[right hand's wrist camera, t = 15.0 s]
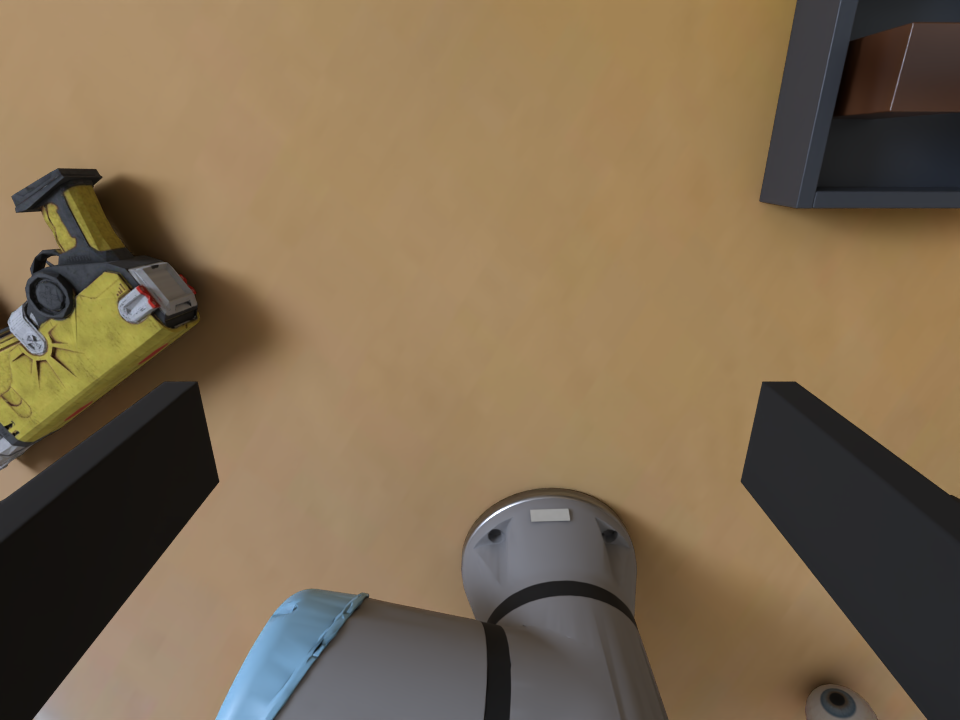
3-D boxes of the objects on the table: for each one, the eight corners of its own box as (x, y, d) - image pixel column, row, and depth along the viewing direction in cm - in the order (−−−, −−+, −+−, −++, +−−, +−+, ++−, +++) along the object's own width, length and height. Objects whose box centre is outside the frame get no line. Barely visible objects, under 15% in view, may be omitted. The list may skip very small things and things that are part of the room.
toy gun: (-207, 333, 36) (-39, 494, 40) (1, 114, 30) (179, 326, 34) (-126, 316, 41) (19, 462, 44) (68, 123, 35) (220, 309, 38)
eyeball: (848, 661, 52) (892, 722, 47) (856, 702, 55) (899, 765, 49) (787, 677, 53) (824, 739, 48) (797, 716, 55) (833, 780, 50)
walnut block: (873, 119, 34) (966, 112, 27) (810, 119, 34) (889, 111, 27) (891, 47, 32) (995, 22, 26) (826, 47, 32) (913, 21, 26)
